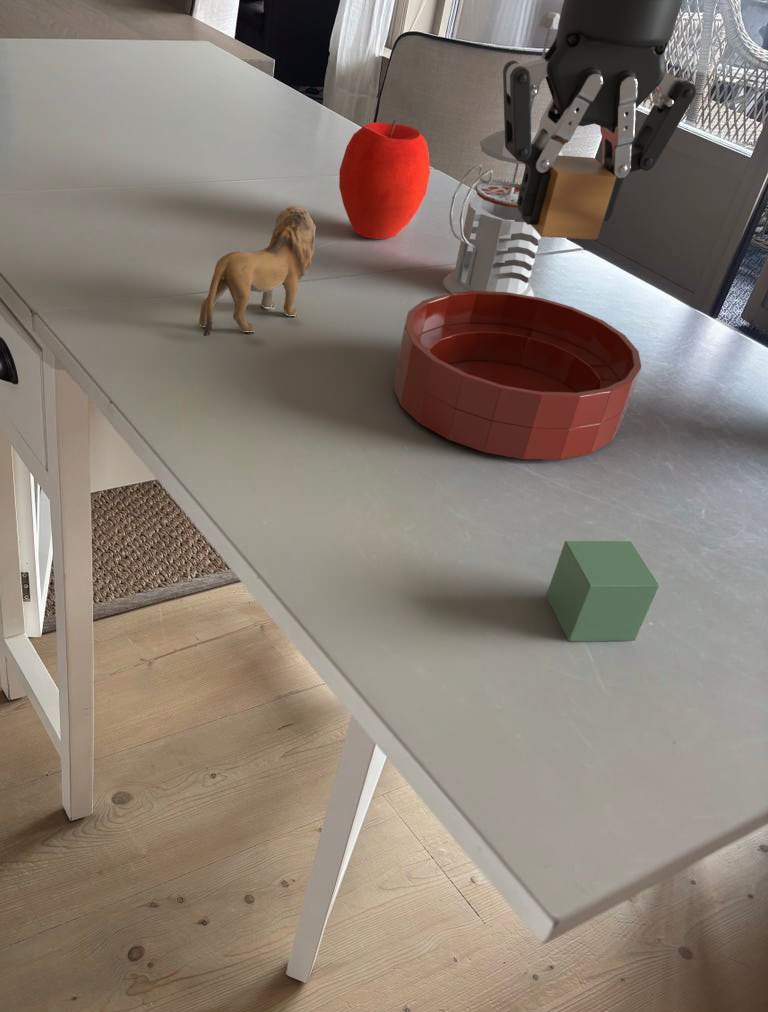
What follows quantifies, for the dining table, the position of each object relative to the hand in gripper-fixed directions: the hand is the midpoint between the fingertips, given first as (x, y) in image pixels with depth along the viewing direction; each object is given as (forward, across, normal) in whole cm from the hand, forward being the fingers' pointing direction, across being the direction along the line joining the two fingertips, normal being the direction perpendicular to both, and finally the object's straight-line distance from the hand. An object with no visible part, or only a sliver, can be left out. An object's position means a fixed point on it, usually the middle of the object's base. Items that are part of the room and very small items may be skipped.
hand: (561, 222), depth 74 cm
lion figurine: (+15, -21, +16) cm, 30 cm away
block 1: (0, 0, 0) cm, 0 cm away
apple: (+15, -5, +38) cm, 42 cm away
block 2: (+15, -4, -28) cm, 33 cm away
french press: (+15, +4, +24) cm, 29 cm away
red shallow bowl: (+15, -1, 0) cm, 15 cm away
